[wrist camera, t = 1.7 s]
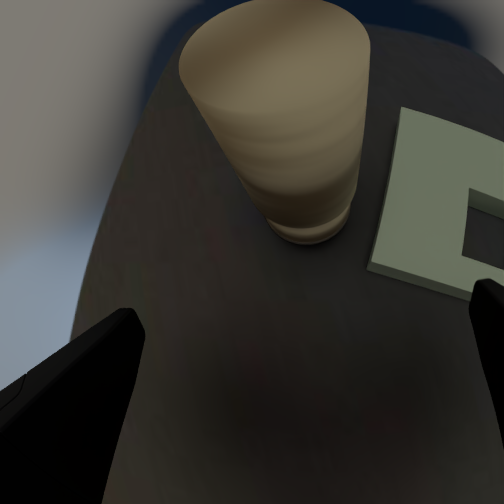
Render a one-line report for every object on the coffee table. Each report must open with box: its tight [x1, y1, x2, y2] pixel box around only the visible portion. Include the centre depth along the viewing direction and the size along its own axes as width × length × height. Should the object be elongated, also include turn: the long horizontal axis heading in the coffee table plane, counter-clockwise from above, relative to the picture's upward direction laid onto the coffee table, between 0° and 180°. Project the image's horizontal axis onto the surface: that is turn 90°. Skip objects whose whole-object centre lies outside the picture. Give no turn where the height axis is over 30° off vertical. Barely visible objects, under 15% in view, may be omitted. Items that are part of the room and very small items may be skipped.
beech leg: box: [179, 0, 370, 245], centre depth 15 cm, size 6×6×15 cm
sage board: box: [366, 107, 504, 301], centre depth 18 cm, size 12×16×2 cm
